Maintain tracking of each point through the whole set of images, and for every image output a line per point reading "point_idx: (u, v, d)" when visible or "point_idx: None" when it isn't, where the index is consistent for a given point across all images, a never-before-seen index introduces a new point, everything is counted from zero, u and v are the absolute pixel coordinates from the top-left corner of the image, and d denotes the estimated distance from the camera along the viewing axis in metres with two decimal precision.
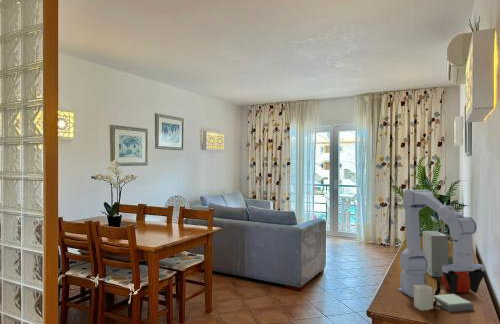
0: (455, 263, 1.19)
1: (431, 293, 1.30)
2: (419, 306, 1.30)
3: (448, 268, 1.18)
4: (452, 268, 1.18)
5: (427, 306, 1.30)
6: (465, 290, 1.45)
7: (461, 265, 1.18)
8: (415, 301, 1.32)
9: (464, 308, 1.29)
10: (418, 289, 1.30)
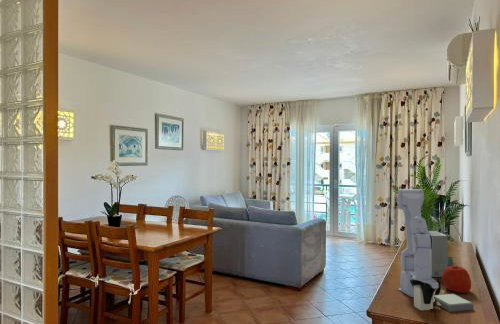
0: None
1: None
2: (419, 306, 1.30)
3: (410, 273, 1.38)
4: (411, 274, 1.37)
5: (427, 306, 1.30)
6: (465, 290, 1.45)
7: None
8: (415, 301, 1.32)
9: (464, 308, 1.29)
10: (418, 289, 1.30)
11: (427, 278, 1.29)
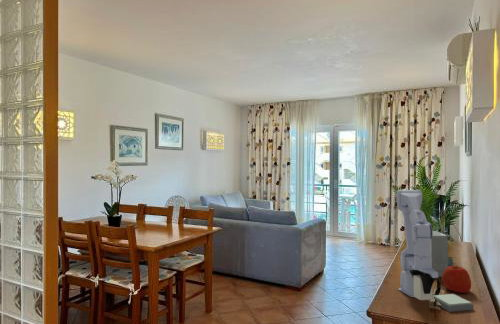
0: None
1: None
2: (419, 296, 1.30)
3: (409, 263, 1.38)
4: (410, 264, 1.37)
5: (426, 296, 1.30)
6: (465, 290, 1.45)
7: None
8: (415, 291, 1.32)
9: (464, 308, 1.29)
10: (418, 279, 1.31)
11: (427, 268, 1.29)
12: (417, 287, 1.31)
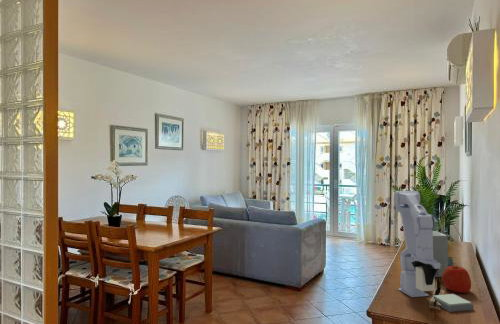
0: None
1: None
2: (421, 287, 1.30)
3: (412, 255, 1.38)
4: (413, 256, 1.37)
5: (429, 287, 1.30)
6: (465, 290, 1.45)
7: None
8: (417, 282, 1.33)
9: (464, 308, 1.29)
10: (420, 270, 1.31)
11: (429, 259, 1.29)
12: (419, 278, 1.31)
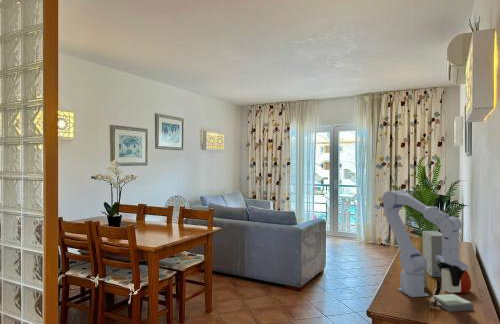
0: None
1: None
2: (447, 288, 1.32)
3: (437, 257, 1.40)
4: (438, 257, 1.39)
5: (455, 288, 1.32)
6: (465, 290, 1.45)
7: None
8: (443, 284, 1.34)
9: (464, 308, 1.29)
10: (446, 272, 1.32)
11: (455, 261, 1.31)
12: (445, 280, 1.33)
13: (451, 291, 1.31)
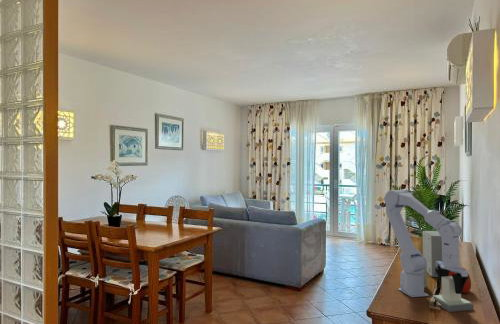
0: None
1: None
2: (447, 297, 1.32)
3: (437, 262, 1.40)
4: (438, 263, 1.39)
5: (455, 297, 1.32)
6: (465, 290, 1.45)
7: None
8: (443, 292, 1.34)
9: (464, 308, 1.29)
10: (446, 280, 1.32)
11: (456, 267, 1.31)
12: (445, 288, 1.33)
13: (451, 300, 1.31)
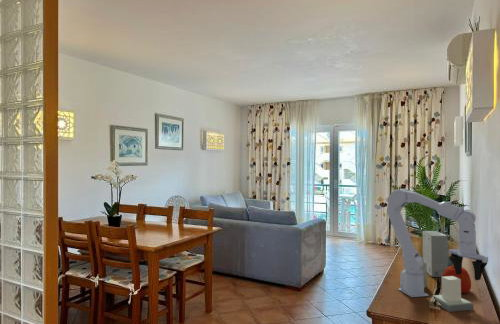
0: None
1: (459, 284, 1.32)
2: (447, 297, 1.32)
3: (450, 251, 1.40)
4: (452, 251, 1.39)
5: (455, 297, 1.32)
6: (465, 290, 1.45)
7: (458, 250, 1.36)
8: (443, 292, 1.34)
9: (464, 308, 1.29)
10: (446, 280, 1.32)
11: (474, 253, 1.32)
12: (445, 288, 1.33)
13: (451, 300, 1.31)
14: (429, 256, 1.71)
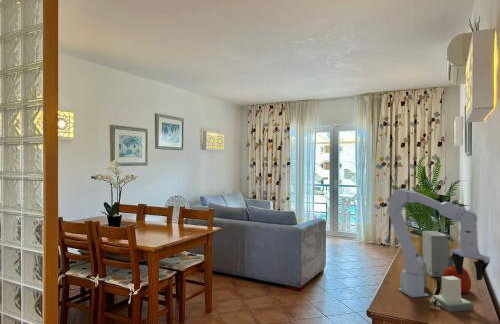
0: None
1: (459, 284, 1.32)
2: (447, 297, 1.32)
3: (452, 251, 1.40)
4: (454, 251, 1.39)
5: (455, 297, 1.32)
6: (465, 290, 1.45)
7: (460, 250, 1.36)
8: (443, 292, 1.34)
9: (464, 308, 1.29)
10: (446, 280, 1.32)
11: (476, 253, 1.33)
12: (445, 288, 1.33)
13: (451, 300, 1.31)
14: (429, 256, 1.71)
